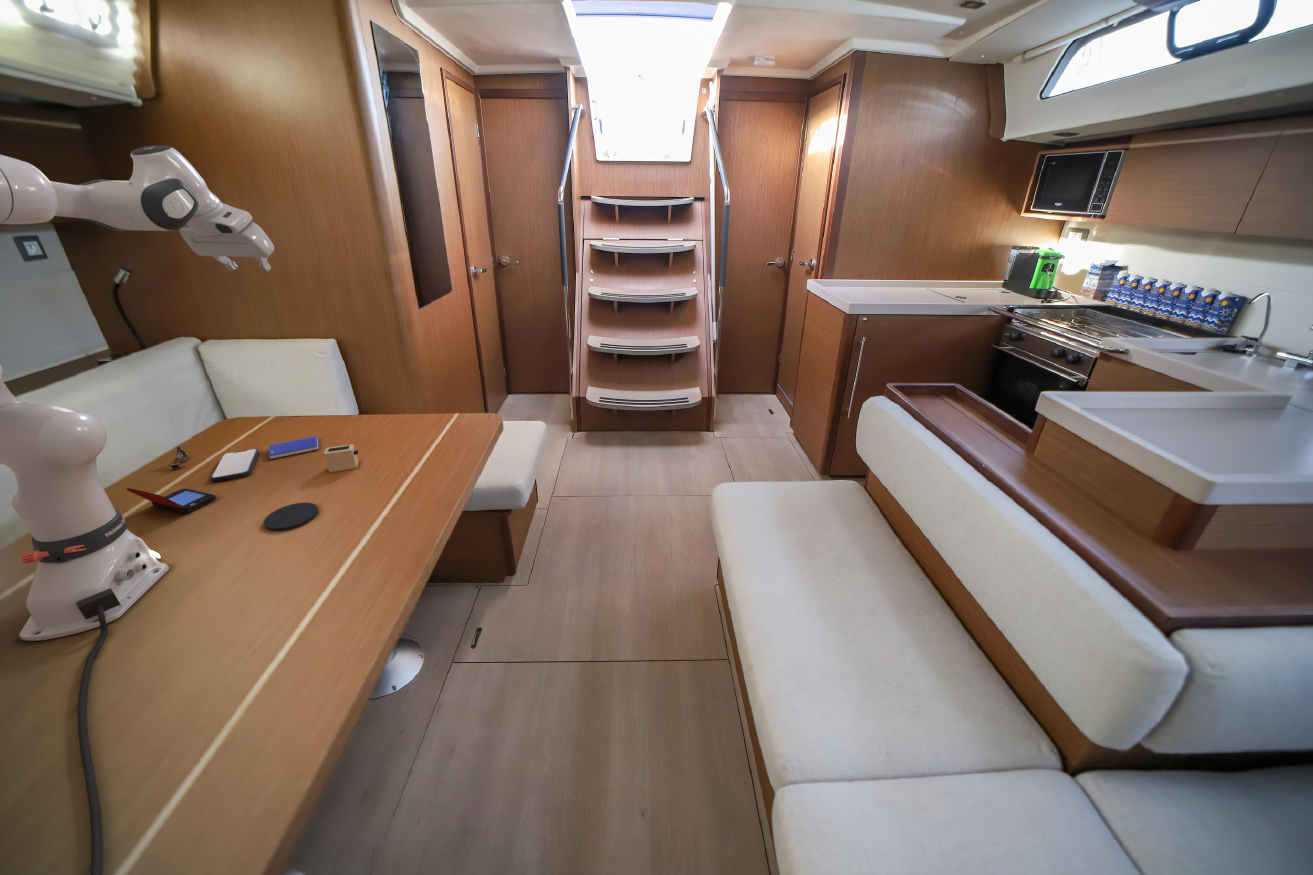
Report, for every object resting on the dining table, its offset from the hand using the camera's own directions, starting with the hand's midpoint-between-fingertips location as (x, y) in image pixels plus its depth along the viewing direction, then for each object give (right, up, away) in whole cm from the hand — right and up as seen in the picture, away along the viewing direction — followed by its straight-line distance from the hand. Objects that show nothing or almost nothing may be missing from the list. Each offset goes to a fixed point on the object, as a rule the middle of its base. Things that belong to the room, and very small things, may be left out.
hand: (250, 269), depth 129 cm
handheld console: (-17, -61, -1) cm, 63 cm away
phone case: (-18, -52, +17) cm, 58 cm away
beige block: (+13, -52, +17) cm, 57 cm away
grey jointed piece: (-35, -51, +18) cm, 65 cm away
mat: (+15, -63, -6) cm, 65 cm away
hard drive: (-8, -47, +27) cm, 55 cm away
